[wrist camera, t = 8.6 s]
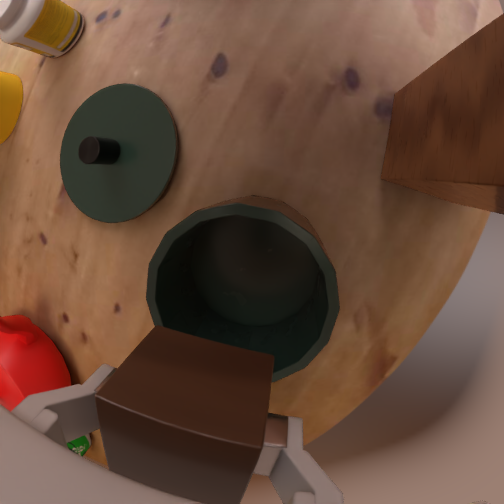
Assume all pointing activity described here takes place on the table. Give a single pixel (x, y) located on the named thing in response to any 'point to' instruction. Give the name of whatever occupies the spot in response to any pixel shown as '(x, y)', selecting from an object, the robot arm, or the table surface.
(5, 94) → the yellow cylinder with hole
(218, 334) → the tin
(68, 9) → the pill bottle
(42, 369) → the teapot
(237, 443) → the block
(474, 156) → the stand
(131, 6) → the table surface
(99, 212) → the tin lid
